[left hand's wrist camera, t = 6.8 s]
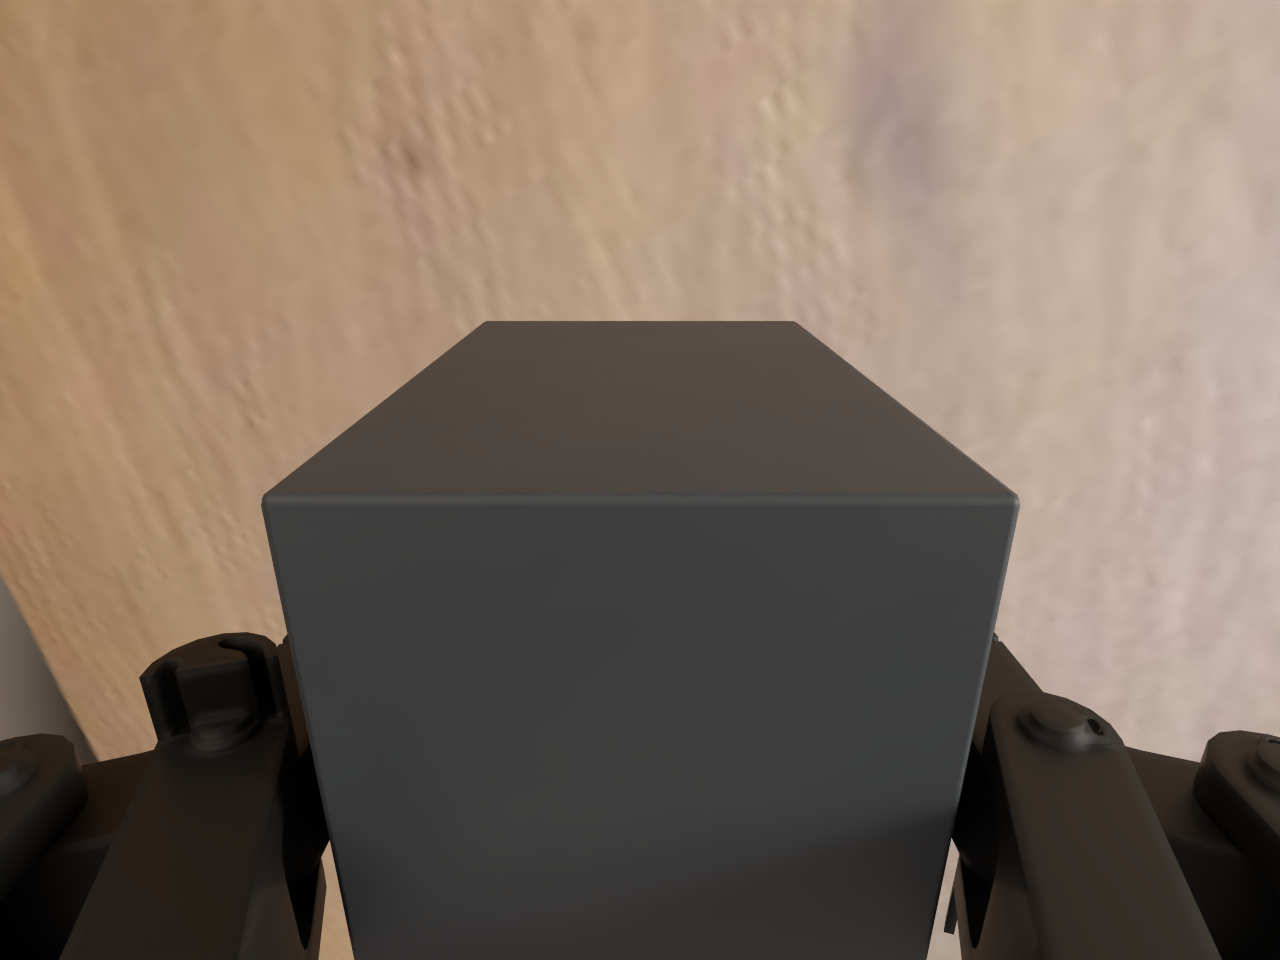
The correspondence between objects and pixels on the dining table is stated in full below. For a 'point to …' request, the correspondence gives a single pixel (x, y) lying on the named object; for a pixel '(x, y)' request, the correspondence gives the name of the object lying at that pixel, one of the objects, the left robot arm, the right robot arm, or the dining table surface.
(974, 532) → the bar
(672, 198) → the dining table surface
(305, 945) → the left robot arm
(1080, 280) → the dining table surface
